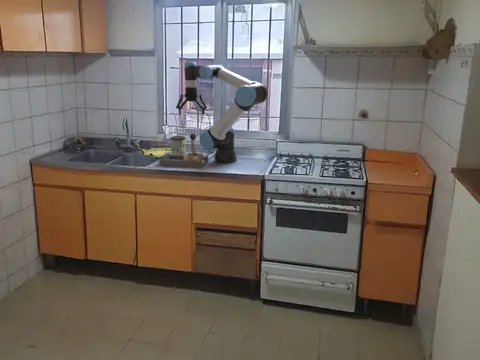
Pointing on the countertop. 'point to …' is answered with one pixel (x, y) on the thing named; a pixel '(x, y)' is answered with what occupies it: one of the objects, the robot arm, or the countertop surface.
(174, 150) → the coffee can
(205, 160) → the tray
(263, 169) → the countertop surface
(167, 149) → the countertop surface
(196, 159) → the wooden peg stand
